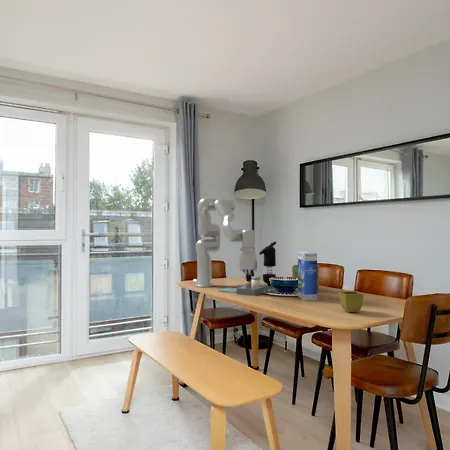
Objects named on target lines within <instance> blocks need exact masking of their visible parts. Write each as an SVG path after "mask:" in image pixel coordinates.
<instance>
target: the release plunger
mask: <svg viewBox="0 0 450 450" xmlns="http://www.w3.org/2000/svg"><path fill="white" fill-rule="evenodd" d="M251 285H252V281H249V282H248V281H246V280H245V286H246V288H248V289H250V288H251Z"/></svg>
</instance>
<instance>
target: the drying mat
mask: <svg viewBox="0 0 450 450" xmlns="http://www.w3.org/2000/svg"><path fill="white" fill-rule="evenodd" d="M237 288H238V287H236V288H234V287H225V288H222V289H218V290H217V291H218V292H221V293H223V292H224V293H231V294H233V293H234V294H235V293H236V294H237Z"/></svg>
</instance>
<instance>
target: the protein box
mask: <svg viewBox="0 0 450 450" xmlns="http://www.w3.org/2000/svg"><path fill="white" fill-rule="evenodd" d="M319 267H320V266H319V265H318V264H317V293H318V292H319V290H320V283H319V281H320V278H319V273H320V272H319V271H320V270H319ZM291 269H292V278H298V264H294V265H292V268H291ZM295 292H298V288H297V289H296V291H295Z"/></svg>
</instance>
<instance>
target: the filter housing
mask: <svg viewBox="0 0 450 450" xmlns="http://www.w3.org/2000/svg"><path fill="white" fill-rule="evenodd" d="M236 288H237V292H236V295H241V296H253V297H256V296H258V295H262V294H263V293H262V292H264V291H267V292H269V291H268V290H269V288H270V286H269V285H268V284H260V287H251V288H250V289H248V288H246V285H243V286H239V287H236ZM264 293H265V292H264Z"/></svg>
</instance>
